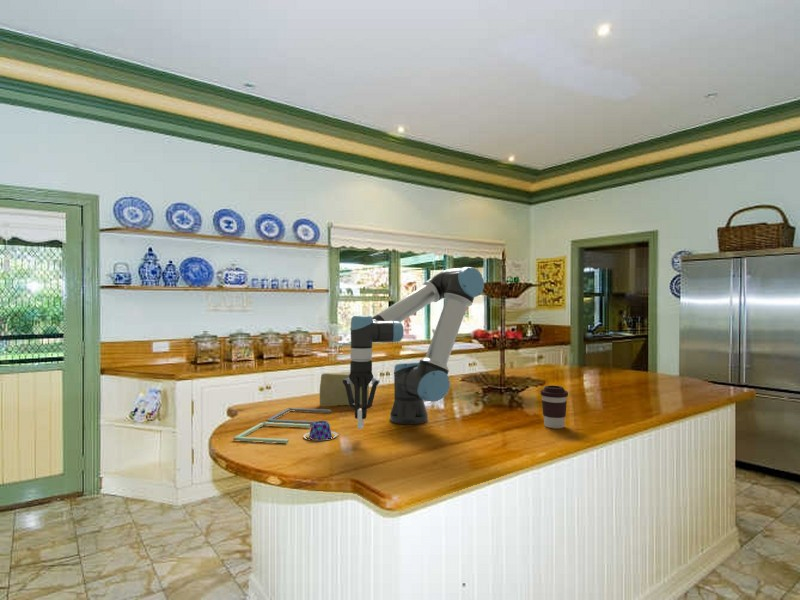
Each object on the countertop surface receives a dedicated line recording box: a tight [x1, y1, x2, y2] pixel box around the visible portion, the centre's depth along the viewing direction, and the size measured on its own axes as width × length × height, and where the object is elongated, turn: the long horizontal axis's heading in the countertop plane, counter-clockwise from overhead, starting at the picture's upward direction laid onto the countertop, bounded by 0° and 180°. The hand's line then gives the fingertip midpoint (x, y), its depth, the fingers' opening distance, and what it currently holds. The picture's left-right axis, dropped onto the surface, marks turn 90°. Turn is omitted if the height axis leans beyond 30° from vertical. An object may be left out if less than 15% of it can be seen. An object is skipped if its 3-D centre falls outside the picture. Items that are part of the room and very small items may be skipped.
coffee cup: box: [540, 385, 569, 430], centre depth 176 cm, size 10×10×15 cm
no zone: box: [265, 407, 332, 426], centre depth 191 cm, size 20×21×1 cm
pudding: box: [302, 420, 339, 441], centre depth 164 cm, size 12×12×5 cm
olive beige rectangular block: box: [319, 371, 370, 407], centre depth 215 cm, size 22×10×15 cm, turn 106°
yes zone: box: [232, 421, 311, 444], centre depth 167 cm, size 20×21×1 cm
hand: (360, 427), depth 161 cm, fingers closed
